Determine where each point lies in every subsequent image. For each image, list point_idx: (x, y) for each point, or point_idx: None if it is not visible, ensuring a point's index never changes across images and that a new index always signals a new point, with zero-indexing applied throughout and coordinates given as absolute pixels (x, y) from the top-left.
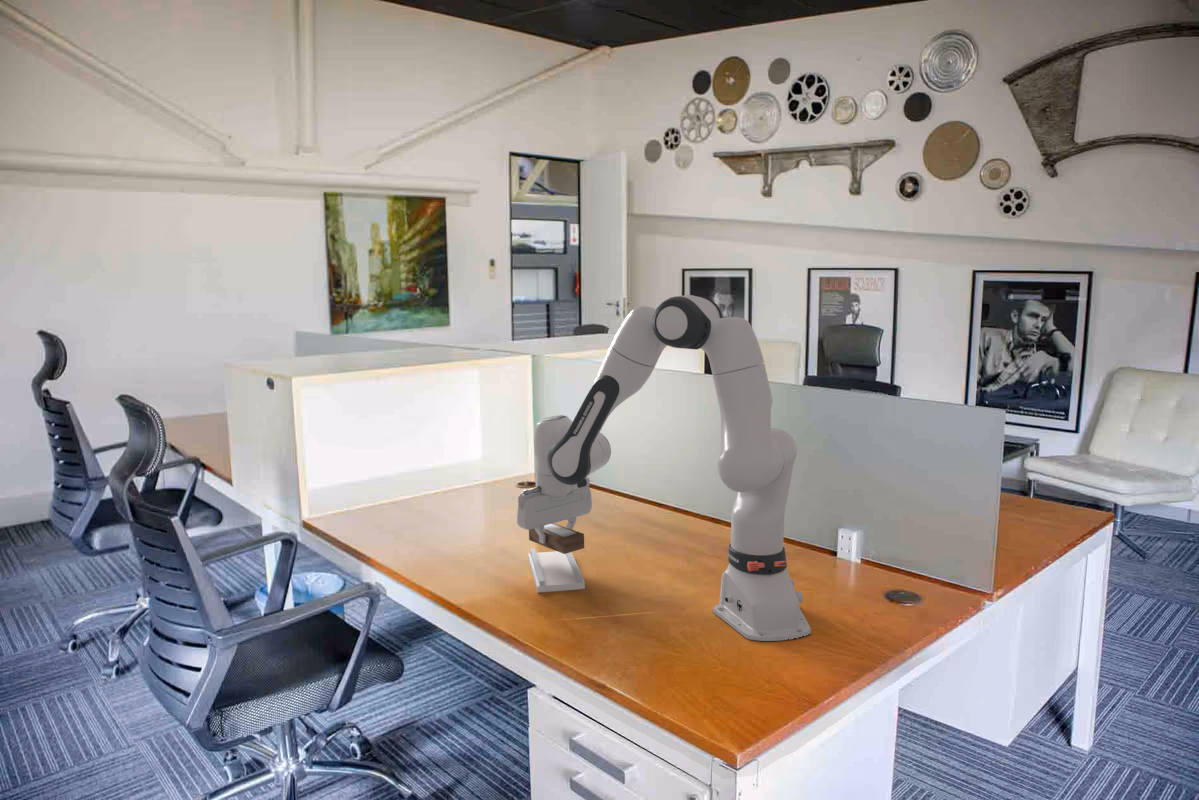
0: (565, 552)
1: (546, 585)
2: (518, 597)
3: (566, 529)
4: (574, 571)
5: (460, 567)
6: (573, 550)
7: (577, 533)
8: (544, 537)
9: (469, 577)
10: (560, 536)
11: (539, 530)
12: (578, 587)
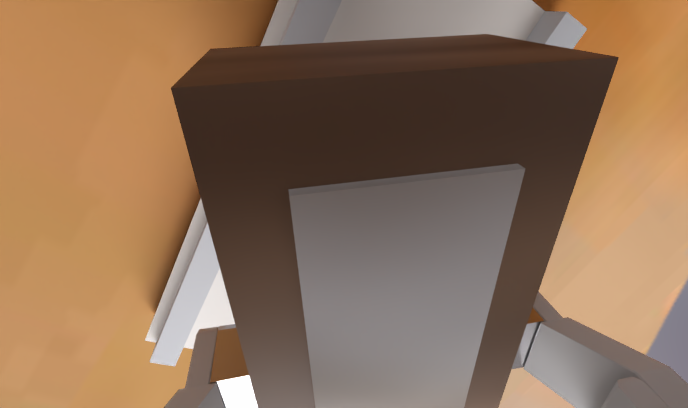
0: (480, 36)
1: (536, 9)
2: (623, 51)
3: (314, 356)
4: (331, 21)
5: (518, 372)
6: (373, 40)
7: (266, 178)
8: (543, 311)
9: (560, 307)
10: (525, 207)
11: (673, 373)
12: None
